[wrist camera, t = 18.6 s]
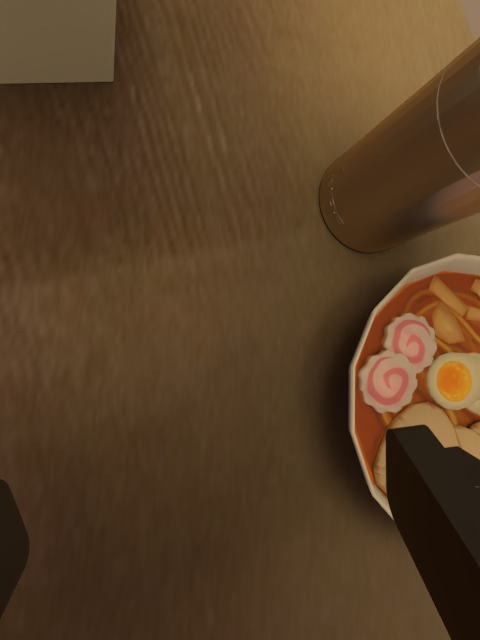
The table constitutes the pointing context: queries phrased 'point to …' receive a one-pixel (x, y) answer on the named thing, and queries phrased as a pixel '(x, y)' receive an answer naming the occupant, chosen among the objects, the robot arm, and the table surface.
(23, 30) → the beige rectangular block
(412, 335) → the ramen bowl
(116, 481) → the table surface
